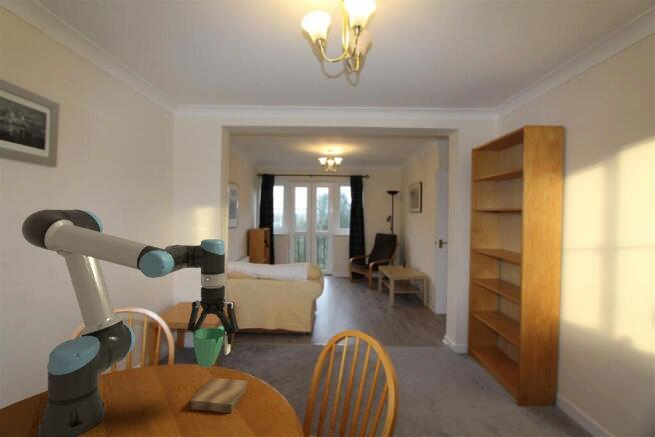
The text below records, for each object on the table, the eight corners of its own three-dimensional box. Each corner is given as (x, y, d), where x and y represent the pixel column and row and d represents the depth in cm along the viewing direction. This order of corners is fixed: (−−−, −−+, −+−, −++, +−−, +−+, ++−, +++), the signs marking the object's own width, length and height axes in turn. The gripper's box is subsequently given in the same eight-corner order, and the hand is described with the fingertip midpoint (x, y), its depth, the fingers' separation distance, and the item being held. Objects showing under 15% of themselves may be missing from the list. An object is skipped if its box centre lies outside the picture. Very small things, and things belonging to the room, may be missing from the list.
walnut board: (189, 409, 100) (190, 400, 100) (210, 385, 114) (211, 377, 114) (231, 413, 98) (232, 404, 98) (247, 389, 112) (248, 380, 112)
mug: (213, 373, 97) (216, 341, 96) (183, 368, 98) (186, 336, 98) (233, 353, 111) (236, 325, 111) (207, 348, 112) (210, 321, 112)
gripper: (175, 287, 102) (175, 355, 102) (240, 289, 99) (240, 359, 99) (188, 282, 109) (188, 345, 109) (249, 284, 106) (249, 349, 107)
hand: (212, 352), depth 104 cm, fingers closed on mug, 9 cm apart
